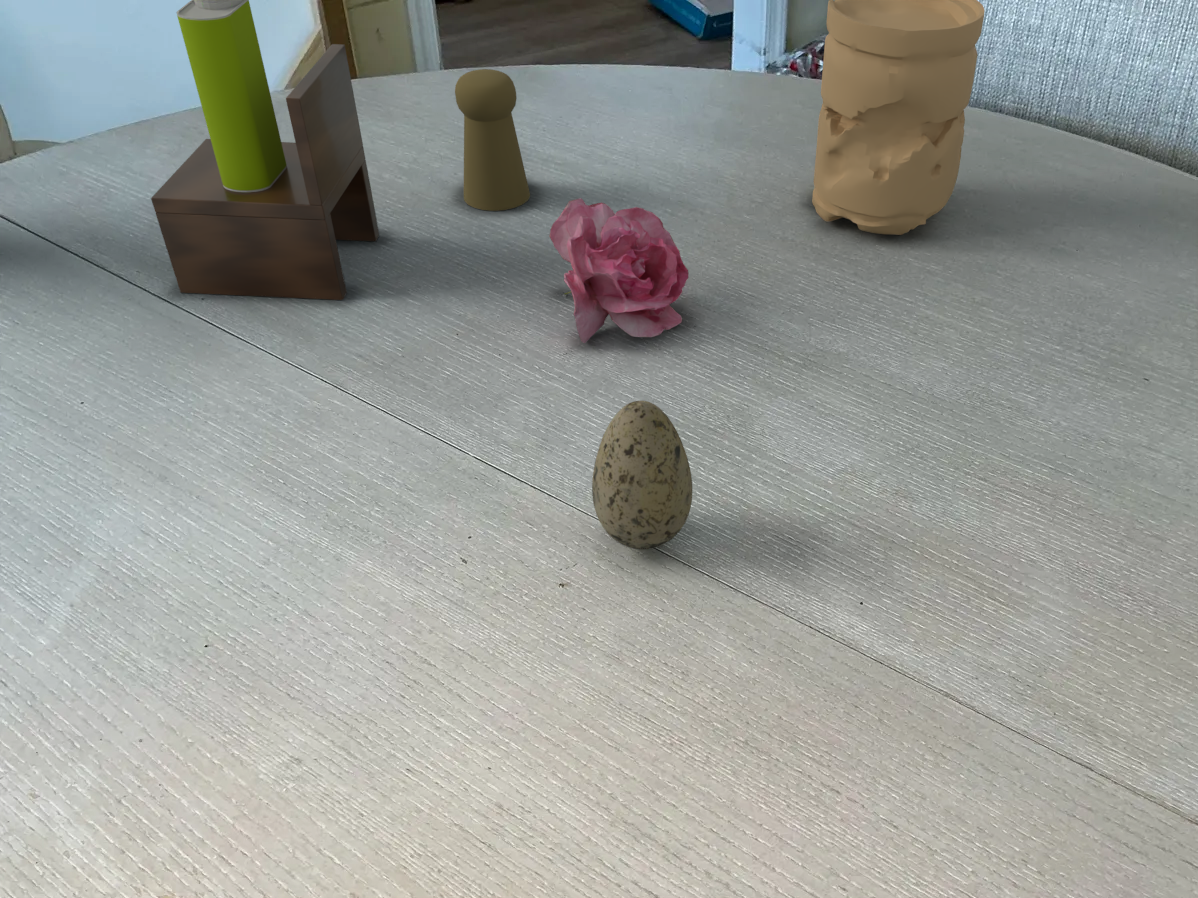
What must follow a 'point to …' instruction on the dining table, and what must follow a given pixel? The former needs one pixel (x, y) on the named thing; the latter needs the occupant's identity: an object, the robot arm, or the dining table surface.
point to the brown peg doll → (490, 141)
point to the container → (893, 109)
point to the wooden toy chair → (277, 203)
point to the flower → (619, 268)
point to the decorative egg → (642, 478)
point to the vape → (233, 92)
